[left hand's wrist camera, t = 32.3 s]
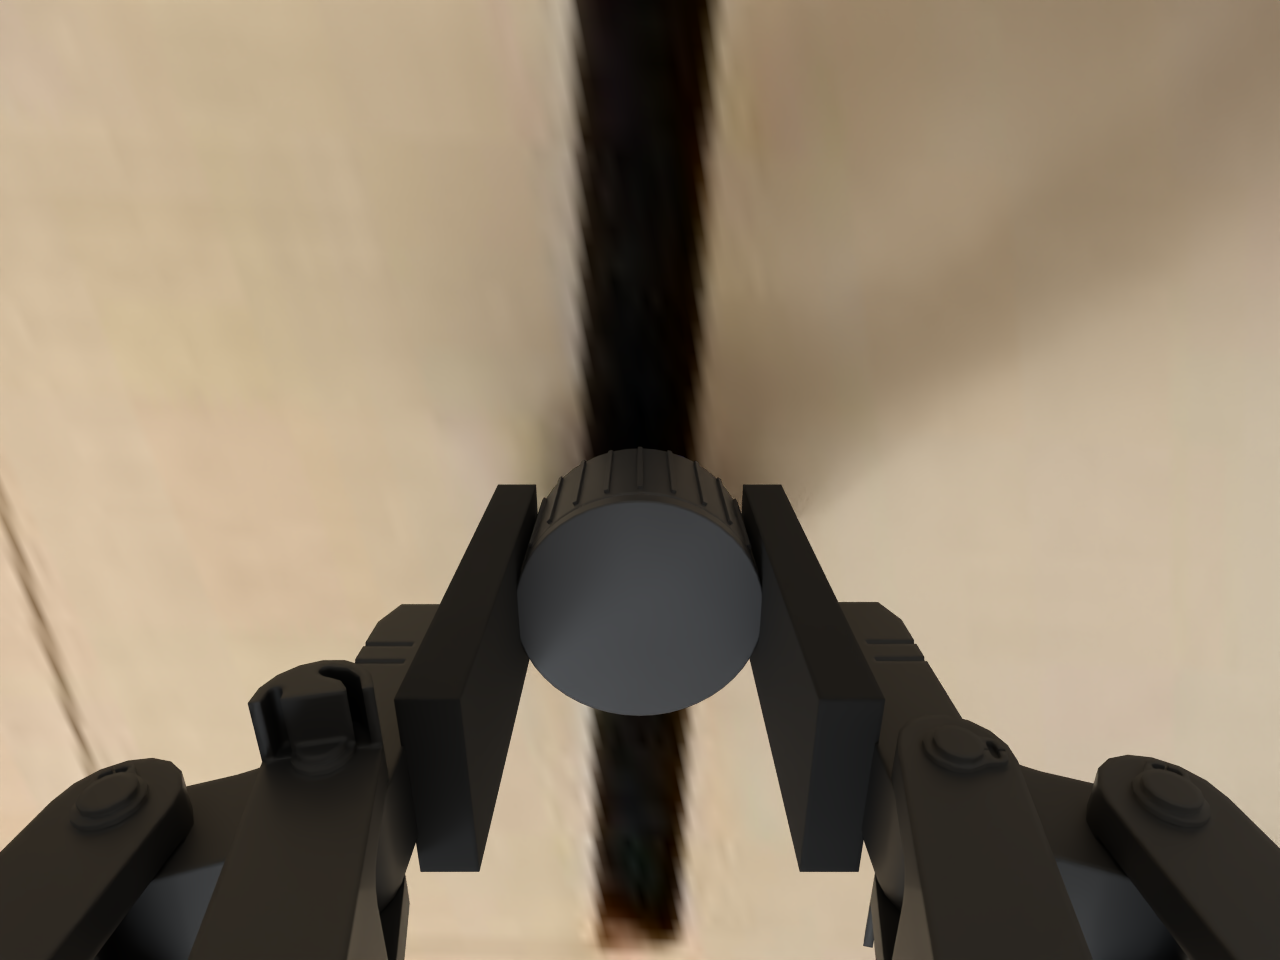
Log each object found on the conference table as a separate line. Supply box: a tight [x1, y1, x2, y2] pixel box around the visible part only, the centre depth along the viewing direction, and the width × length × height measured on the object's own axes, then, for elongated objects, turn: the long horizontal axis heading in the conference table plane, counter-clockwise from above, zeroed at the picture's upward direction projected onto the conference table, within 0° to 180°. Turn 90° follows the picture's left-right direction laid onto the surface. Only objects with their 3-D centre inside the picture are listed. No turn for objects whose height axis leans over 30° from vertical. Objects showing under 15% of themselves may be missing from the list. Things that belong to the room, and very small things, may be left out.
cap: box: [517, 447, 762, 716], centre depth 13 cm, size 4×4×3 cm
